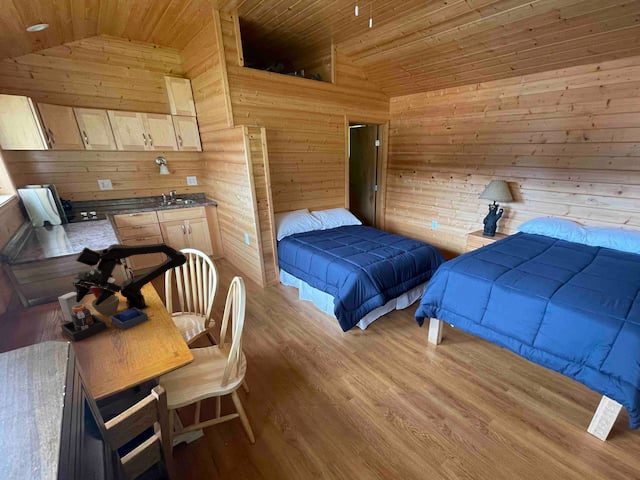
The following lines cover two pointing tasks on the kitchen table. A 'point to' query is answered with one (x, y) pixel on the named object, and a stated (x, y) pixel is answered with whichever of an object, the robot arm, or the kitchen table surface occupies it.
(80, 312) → the pill bottle
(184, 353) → the kitchen table surface
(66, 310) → the cosmetic box
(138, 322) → the blue bin
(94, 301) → the gray bowl
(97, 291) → the plastic cup
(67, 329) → the charcoal bin
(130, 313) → the blue block
